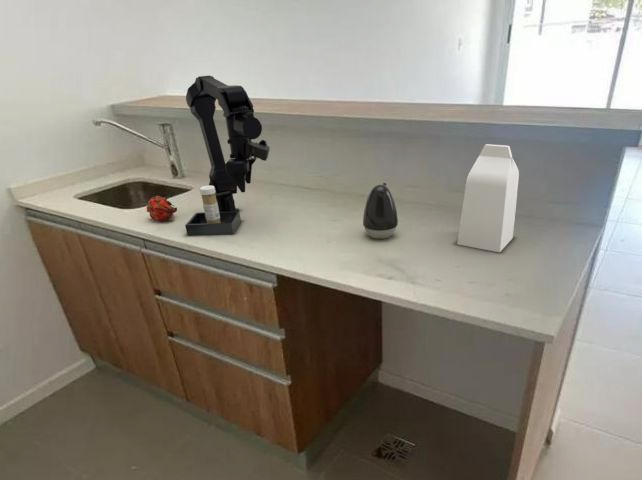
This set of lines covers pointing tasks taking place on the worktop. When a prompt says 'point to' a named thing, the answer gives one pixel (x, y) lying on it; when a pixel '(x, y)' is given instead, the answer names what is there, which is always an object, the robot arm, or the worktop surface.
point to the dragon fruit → (160, 208)
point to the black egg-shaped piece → (380, 213)
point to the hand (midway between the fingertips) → (246, 187)
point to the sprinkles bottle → (210, 204)
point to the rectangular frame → (213, 224)
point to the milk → (490, 200)
